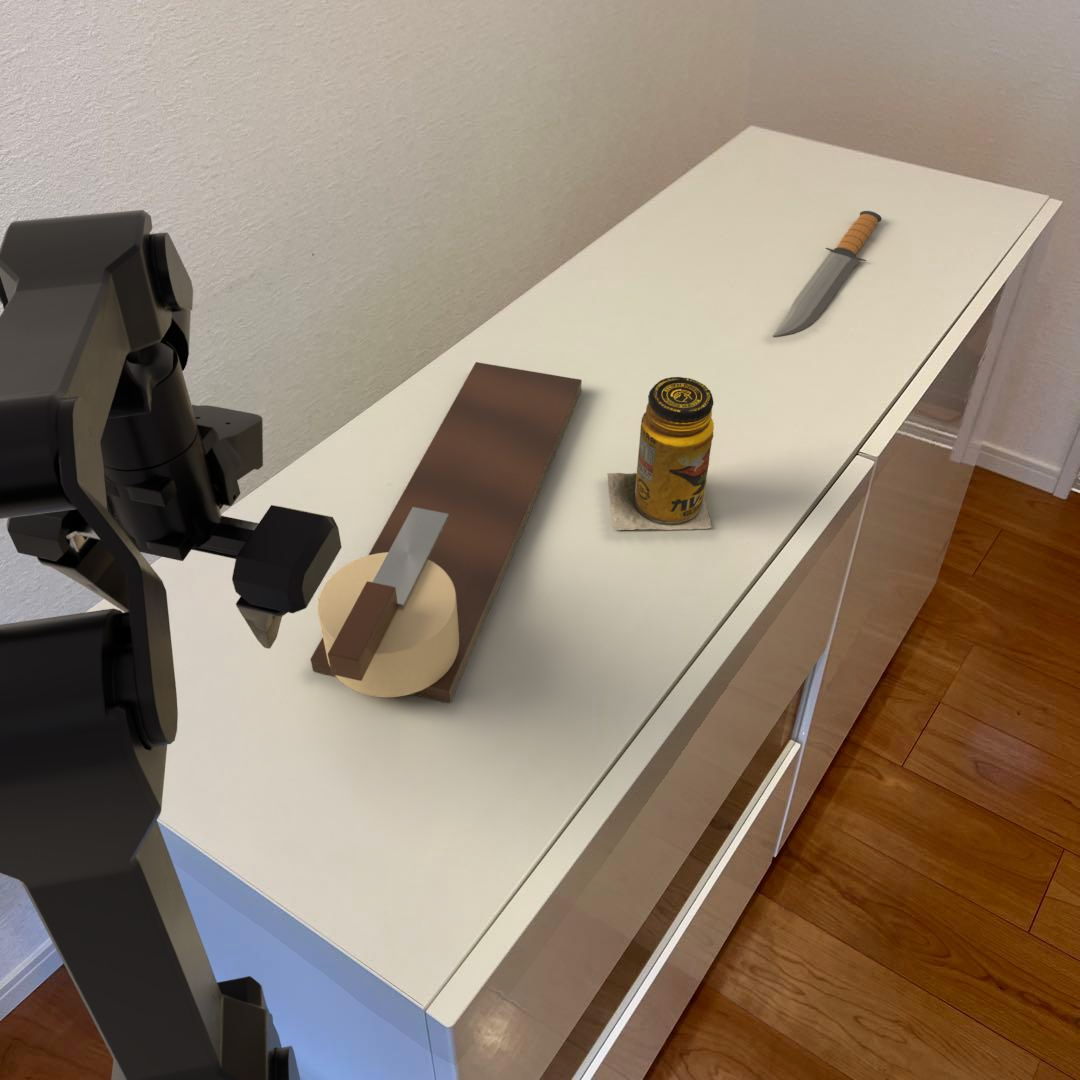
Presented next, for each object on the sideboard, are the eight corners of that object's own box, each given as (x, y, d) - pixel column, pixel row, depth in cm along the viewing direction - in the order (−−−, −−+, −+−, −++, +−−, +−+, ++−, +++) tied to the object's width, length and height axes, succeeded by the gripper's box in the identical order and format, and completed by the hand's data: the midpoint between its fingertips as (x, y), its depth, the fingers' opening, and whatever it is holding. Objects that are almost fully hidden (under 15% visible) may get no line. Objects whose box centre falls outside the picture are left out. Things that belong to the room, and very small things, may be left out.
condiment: (711, 529, 93) (729, 419, 85) (613, 531, 93) (622, 421, 84) (699, 474, 98) (715, 365, 90) (606, 476, 98) (614, 366, 90)
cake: (433, 711, 77) (428, 665, 74) (304, 680, 79) (294, 635, 76) (476, 611, 84) (474, 565, 81) (357, 585, 86) (349, 539, 82)
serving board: (450, 703, 80) (449, 691, 78) (312, 671, 82) (309, 659, 81) (581, 391, 107) (581, 379, 106) (476, 373, 109) (475, 361, 108)
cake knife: (367, 683, 73) (363, 662, 71) (325, 673, 73) (321, 652, 72) (449, 517, 84) (447, 496, 83) (413, 510, 85) (410, 489, 83)
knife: (807, 343, 112) (763, 328, 114) (805, 353, 113) (761, 337, 115) (895, 216, 131) (856, 204, 132) (892, 225, 132) (853, 213, 133)
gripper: (362, 379, 62) (387, 569, 73) (75, 330, 65) (140, 518, 76) (277, 505, 54) (320, 696, 65) (-43, 441, 58) (49, 633, 68)
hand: (204, 627), depth 69 cm, fingers open, 9 cm apart
